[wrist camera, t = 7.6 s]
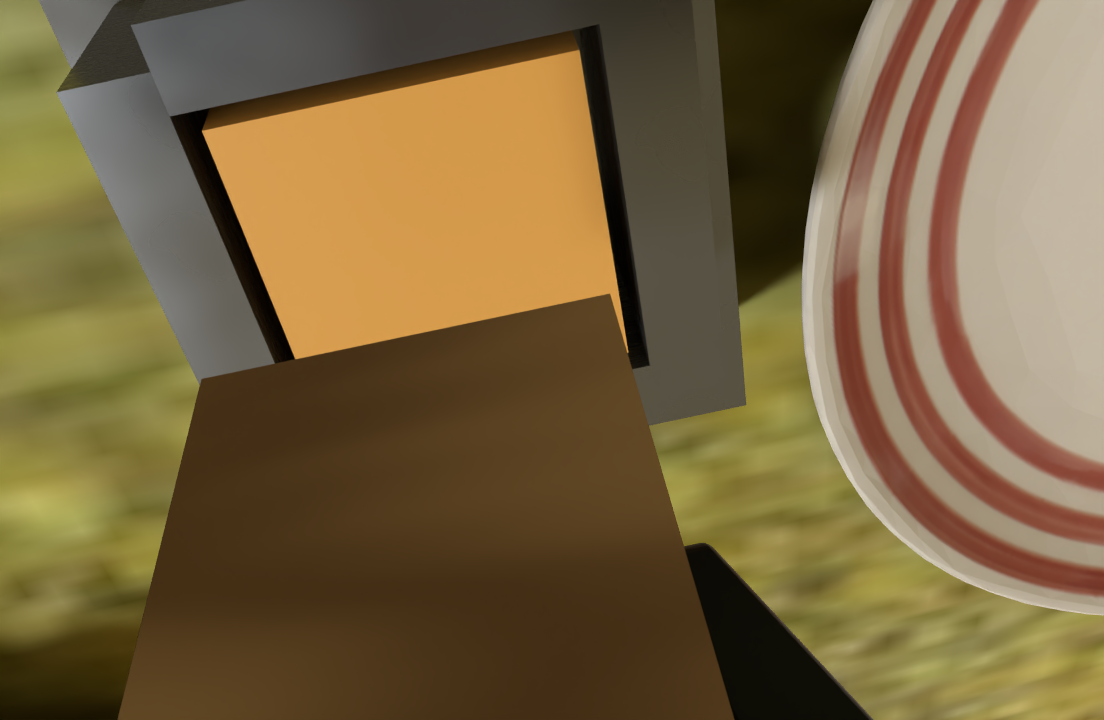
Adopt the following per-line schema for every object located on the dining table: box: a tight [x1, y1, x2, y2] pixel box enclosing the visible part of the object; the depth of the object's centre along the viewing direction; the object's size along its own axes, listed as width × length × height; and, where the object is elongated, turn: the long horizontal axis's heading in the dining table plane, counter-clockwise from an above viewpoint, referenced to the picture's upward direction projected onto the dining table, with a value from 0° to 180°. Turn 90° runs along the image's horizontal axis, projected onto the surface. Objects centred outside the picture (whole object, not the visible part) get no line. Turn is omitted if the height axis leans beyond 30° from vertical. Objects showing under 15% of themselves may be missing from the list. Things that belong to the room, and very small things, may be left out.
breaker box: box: [39, 0, 746, 425], centre depth 18 cm, size 10×14×6 cm
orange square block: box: [202, 30, 628, 359], centre depth 16 cm, size 5×5×3 cm
